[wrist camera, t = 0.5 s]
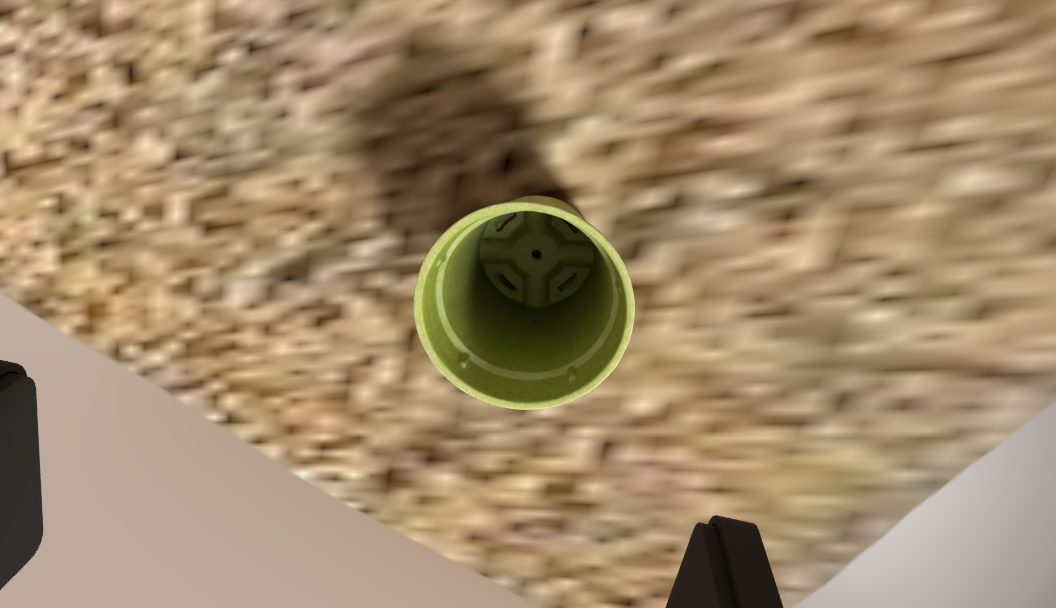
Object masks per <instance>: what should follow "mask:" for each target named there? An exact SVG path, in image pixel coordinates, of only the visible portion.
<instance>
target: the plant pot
mask: <svg viewBox="0 0 1056 608" xmlns="http://www.w3.org/2000/svg"><path fill="white" fill-rule="evenodd" d="M511 212H513V213H516V217H515V218H513V219H512V220H511V221H509V222H508V223H507V224H506V225H505V226H504V227H503V229H502V230H501V231H499V232H497V230H496V227H497V223H498V222H499V221H501V220H502V219H503V218H504V217H505V216H506V215H507V214H509V213H511ZM559 217H560V218H562V219H564V220H566V221H568V222H570V223H571V224H573V225H574V226H576V227H577V228H578V229H579V230H578V232H577V233H574V232H573V231H572V229H571V228H570V227H569V226H568V224H567V223H565V222H564V221H563V220H562V219H560V218H559ZM534 250H539V251H540V252H541V254H542V255H541V257H540V258H539V259H535V258H534V257H533V256H532V252H533V251H534ZM499 272H501V273H502V274H503V275H504V276H505V277H506V279H507V280H508V281H509V282H510V283H511V284H512V285H514V286H515V287H516V288H517V290H511V289H509V288H508V287H506V286H505V285H504V284H503V283H502V282H501V281H500V280H499V278H498V273H499ZM574 273H577V274H576V275H577V277H576V279H575V280H574V282H573V284H572V285H571V286H570V287H568V288H567V289H565V290H563V291H559V290H558V289H557V288H558V286H559V285H561V284H563V283H564V282H566V281H567V280H568V279H569V278H570V277H571V276H573V274H574ZM634 313H635V304H634V294H633V289H632V284H631V280H630V277H629V274H628V272H627V269H626V267H625V265H624V263H623V261H622V259H621V257H620V256H619V254H618V253H617V251H616V250H615V248H614V247H613V246H612V244H611V243H610V242H609V241H608V240H607V239H606V237H605V236H604V235H603V234H601V233H600V232H599V231H598V230H597V229H596V228H595V227H594V226H592V225H591V224H590V223H588V222H587V221H585V220H584V218H583V217H582V216H581V215H580V214H579V213H578V212H577V211H576V210H575V209H574V208H572V207H571V206H569V205H568V204H566V203H564V202H563V201H560V200H558V199H555V198H552V197H547V196H524V197H520V198H517V199H514V200H512V201H510V202H504V203H499V204H494V205H490V206H487V207H484V208H482V209H479V210H477V211H474V212H472V213H470V214H468V215H467V216H465V217H463V218H462V219H460V220H459V221H457V222H456V223H455V224H453V225H452V226H451V227H449V228H448V229H447V230H446V231H445V232H444V233H443V234H442V235H441V236H440V237H439V239H438V240H437V241H436V242H435V244H434V245H433V246H432V248H431V249H430V251H429V253H428V254H427V256H426V258H425V260H424V262H423V264H422V266H421V269H420V271H419V274H418V277H417V281H416V286H415V292H414V317H415V323H416V328H417V331H418V335H419V338H420V340H421V342H422V345H423V347H424V349H425V351H426V353H427V354H428V356H429V358H430V359H431V361H432V362H433V364H434V365H435V366H436V367H437V369H438V370H439V371H440V372H441V373H442V374H443V375H444V376H445V377H446V378H447V379H448V380H449V381H450V382H452V383H453V384H454V385H455V386H457V387H458V388H459V389H461V390H462V391H464V392H466V393H467V394H469V395H471V396H473V397H475V398H477V399H479V400H482V401H484V402H487V403H490V404H493V405H496V406H500V407H506V408H512V409H523V410H533V409H544V408H551V407H555V406H559V405H562V404H565V403H568V402H570V401H573V400H575V399H577V398H579V397H581V396H583V395H585V394H586V393H588V392H590V391H591V390H593V389H594V388H595V387H597V386H598V385H599V384H600V383H601V382H602V381H603V380H604V379H605V378H606V377H607V376H608V375H609V374H610V373H611V372H612V371H613V369H614V368H615V367H616V366H617V364H618V363H619V361H620V359H621V357H622V356H623V354H624V352H625V350H626V347H627V345H628V343H629V340H630V337H631V333H632V329H633V323H634Z"/></svg>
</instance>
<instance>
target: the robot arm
mask: <svg viewBox="0 0 1056 608" xmlns="http://www.w3.org/2000/svg"><path fill="white" fill-rule="evenodd" d="M38 439H39V438H38V419H37V398H36V386H35V383H34V381H33V379H31V378H30V377H27V374H26V371H25V369H24V368H23V367H22V366H21V365H19V364H17V363H12V362H8V361H3V360H0V590H1V589H2V588H3V587H4V586H5V584H7V582H8V581H9V580H10V579H12V577H13V576H15V575H16V574H17V572H18V571H19V570H20V569H22V567H23V566H24V565H25V564H26V563H27V562H28V561H29V560H30V559H31V558H32V557H33V556H34V555H35V553H36V551H37V549H38V548H39V545H40V543H41V540H42V536H43V516H42V496H41V479H40V459H39V458H40V457H39V440H38ZM666 608H783V605H782V602H781V599H780V595H779V592H778V589H777V586H776V583H775V580H774V577H773V574H772V570H771V567H770V564H769V561H768V558H767V555H766V552H765V549H764V545H763V542H762V539H761V536H760V533H759V530H758V528H757V526H756V525H755V524H753V523H749V522H745V521H740V520H735V519H731V518H726V517H722V516H717V515H715V516H713V517H712V518H711V519H710V521H709V523H708V524H704V523H697V524H696V526H695V528H694V530H693V533H692V535H691V538H690V541H689V544H688V546H687V549H686V552H685V555H684V558H683V560H682V563H681V566H680V569H679V572H678V574H677V577H676V580H675V583H674V586H673V588H672V591H671V594H670V597H669V600H668V602H667V605H666Z"/></svg>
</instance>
